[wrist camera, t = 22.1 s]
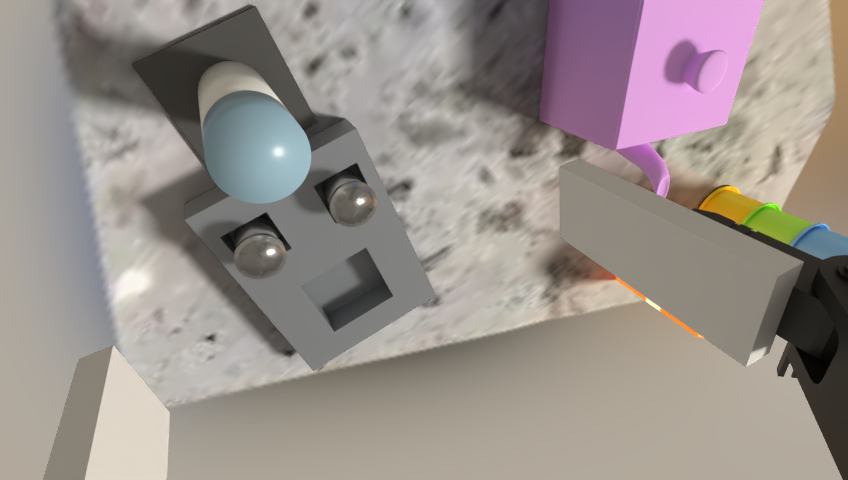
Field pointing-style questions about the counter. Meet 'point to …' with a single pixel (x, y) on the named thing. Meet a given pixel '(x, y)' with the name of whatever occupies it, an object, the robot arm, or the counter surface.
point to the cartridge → (250, 135)
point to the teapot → (643, 71)
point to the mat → (227, 41)
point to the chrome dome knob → (258, 249)
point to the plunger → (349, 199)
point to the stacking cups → (776, 223)
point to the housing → (322, 254)
